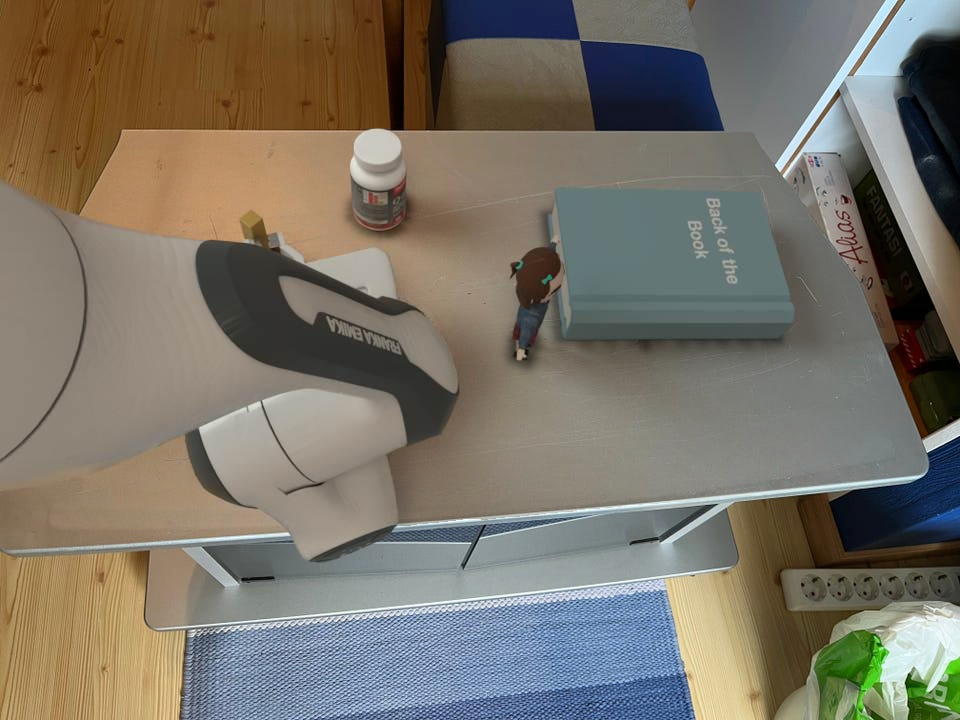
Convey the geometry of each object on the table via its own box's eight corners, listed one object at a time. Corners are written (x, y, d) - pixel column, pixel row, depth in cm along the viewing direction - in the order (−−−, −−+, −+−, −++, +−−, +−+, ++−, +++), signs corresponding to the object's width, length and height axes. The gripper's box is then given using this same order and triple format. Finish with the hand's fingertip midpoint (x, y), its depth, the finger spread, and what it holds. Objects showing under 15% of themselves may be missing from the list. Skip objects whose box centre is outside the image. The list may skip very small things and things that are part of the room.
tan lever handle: (211, 324, 69) (192, 281, 62) (192, 309, 69) (171, 264, 63) (278, 268, 73) (267, 221, 66) (259, 253, 73) (246, 205, 67)
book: (740, 220, 86) (759, 191, 81) (774, 342, 78) (797, 318, 74) (547, 217, 83) (555, 187, 78) (563, 343, 75) (574, 318, 71)
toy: (520, 412, 71) (548, 336, 58) (473, 398, 72) (491, 318, 58) (553, 297, 78) (586, 204, 65) (510, 284, 78) (534, 189, 65)
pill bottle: (405, 234, 80) (406, 170, 71) (351, 231, 79) (346, 167, 71) (406, 192, 83) (407, 126, 74) (354, 189, 82) (349, 122, 73)
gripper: (421, 317, 62) (373, 192, 67) (166, 385, 57) (137, 243, 62) (419, 353, 67) (374, 234, 73) (187, 418, 62) (158, 285, 68)
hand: (263, 239), depth 68 cm, fingers closed
